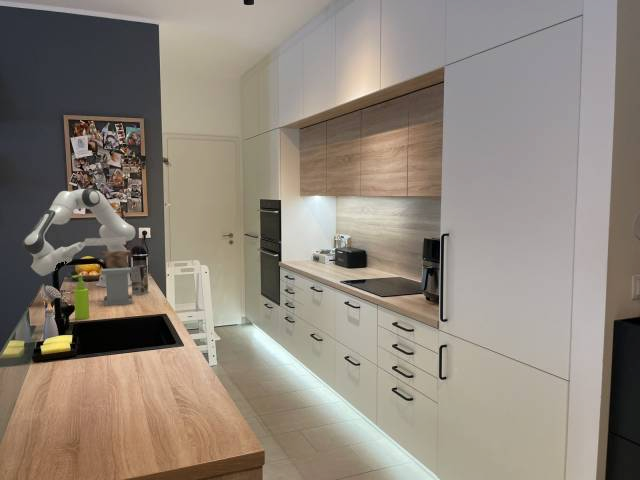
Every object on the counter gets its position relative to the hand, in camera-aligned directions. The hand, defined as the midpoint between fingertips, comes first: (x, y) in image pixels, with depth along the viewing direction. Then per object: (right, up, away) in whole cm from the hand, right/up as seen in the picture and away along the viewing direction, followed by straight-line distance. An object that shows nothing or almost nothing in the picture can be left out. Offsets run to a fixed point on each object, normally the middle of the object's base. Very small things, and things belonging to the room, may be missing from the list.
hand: (88, 241), depth 264 cm
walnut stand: (+13, -32, +7) cm, 35 cm away
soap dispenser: (+12, -35, -34) cm, 51 cm away
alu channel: (+8, -2, +3) cm, 9 cm away
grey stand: (+16, -32, -3) cm, 36 cm away
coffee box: (+19, -30, +23) cm, 43 cm away
